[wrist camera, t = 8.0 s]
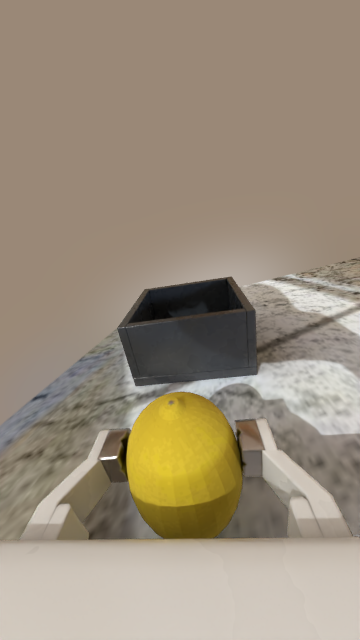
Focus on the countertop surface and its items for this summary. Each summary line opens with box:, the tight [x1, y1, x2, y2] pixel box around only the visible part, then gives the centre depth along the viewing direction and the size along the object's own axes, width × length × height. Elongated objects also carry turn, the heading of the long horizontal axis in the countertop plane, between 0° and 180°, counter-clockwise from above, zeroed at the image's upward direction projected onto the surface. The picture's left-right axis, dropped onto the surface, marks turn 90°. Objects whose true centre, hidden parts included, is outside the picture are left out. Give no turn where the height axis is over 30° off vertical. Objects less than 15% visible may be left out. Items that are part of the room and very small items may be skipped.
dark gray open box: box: [117, 277, 257, 386], centre depth 26 cm, size 13×13×7 cm
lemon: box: [126, 392, 242, 539], centre depth 11 cm, size 6×6×8 cm
